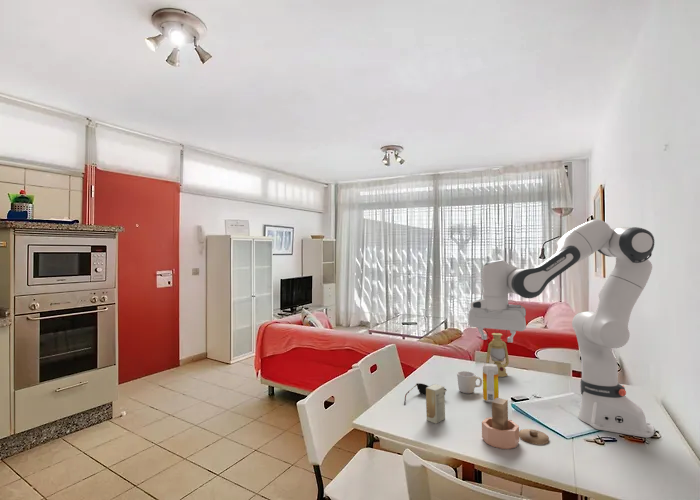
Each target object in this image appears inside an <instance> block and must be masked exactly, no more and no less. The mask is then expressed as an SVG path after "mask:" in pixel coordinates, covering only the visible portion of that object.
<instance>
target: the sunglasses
mask: <svg viewBox="0 0 700 500" xmlns="http://www.w3.org/2000/svg"><path fill="white" fill-rule="evenodd" d="M416 386H417V390H418V393H419V394H420V395H425V396H426V388H427V387H429V385H427V384H425V383H419V382H417V383H415V384H414V386H413V387H411V389H410V390H408V391H407V392H406V394H405V396H404V402H403V403H404V404H403V406H406V401H407V400H406V399H407V395H408V394H409V393H410V391H412V390H413V389H414V388H416ZM444 392H445V393H446V392H447V388H445V387H444Z"/></svg>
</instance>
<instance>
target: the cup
mask: <svg viewBox="0 0 700 500" xmlns="http://www.w3.org/2000/svg"><path fill="white" fill-rule="evenodd" d="M456 376H457V377H456V378H457V385H458V390H459V392H461V393H462V394H463V393H464V394H473V393H474V392H475V389H476V388H480V387H482V386H483V378H482V377H481V376H478V375H477V374H476V373H474V372H471V371H465V370H463V371H461V370H460V371H457V373H456ZM477 380H479V384H476V383H477V382H476V381H477Z"/></svg>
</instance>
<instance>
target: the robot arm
mask: <svg viewBox="0 0 700 500" xmlns="http://www.w3.org/2000/svg"><path fill="white" fill-rule="evenodd" d="M654 247H655V237H654V235H653V233H652V232H651V231H649V230H647V229H645V228H642V227H637V226H636V227H635V226H633V227H629V226H627V227H626V226H623V227H617V228H616V227H615V228H611V227H610V225H609V224H608V223H607V222H606V221H604V220H603V219H591V220H589V221H586V222H585V223H582V224H580V225H578V226H576V227H574V228H572V229H571V230H569V231H568V232H566V233H564V235H562V236H561V237H560V238H559V239H558V240H557V241H555V244H554V250H555V253H554V254H553V255H552V256H551V257H549V258H547V259H546V260H545V261H543V262H541V263H539V265H537V266H535V267H532V268H520V267H517V266H515V265H512V264H510V263H508V262H507V261H505V260H504V259H497V260H492V261H491V260H490V261H488V262H485V264H484V265H483V267H482V274H481V275H482V279H481V280H482V281H481V282H482V286H483V292H482V298H480V299H478V300H473V301H472V302H470V310H469V311H468V320H467V321H468V325H469V327H471V328H472V327H473V328H477V331H478V332H479V333H480V335H481V340H485V341H486V340H487V339H488V336H487V334H488V333H485V332H484V331H483V330H484V329H485V328H486V329H492V330H493V329H494V330H507V331H509V332H510V334H511V335H509V336H508V337H507V336H506V339H507V342H508V343H513V342H514V337H515V335H516V333H517V332H524V331H525V330H526V329H527V323H526V322H527V321H526V315H527V313H526V312H527V310H526V307H524V306H523V305H522V304H509V294H510V293H511V294H514V295H518V296H520V297H522V298H525V299H534V298H537V297H539V296H540V295H541V294H542V293H543V292H544V290H545V289H546V287H547V286H548V285H549V283H551V282H552V280H554V279H555V278H557V277H558V276H560V275H561V274H563V273H564V272H565V271H567V270H568V269H569V268H571V267H572V266H575V264H577V263H579V262H581V261H583V260H585V259H586V258H588V257H590V256H592V255H593V254H594V253H596V252H598V253H600V254H601V255H602V256H606V257H609V258H610V257H611V258H615V264H614V268H613V269H612V271H611V272H610V274H609V275H608V277H607V279H606V280H605V282H604V283H603V286H602V288H601V289H600V290H599V293H598V305H597V309H596V311H592V310H591V311H582V312H578V313H577V314H575V315H574V316H573V318H572V320H571V327H572V328H573V331H574V334H575V336H576V340H577V344H578V349H579V353H580V360H581V379H580V386H579V387H580V395H581V397H580V398H581V400H580V405H579V410H578V414H577V418H578V419H579V420H580V421H582V422H584V423H585V424H588V425H590V426H591V427H592V428H593V429H595V430H599V431H605V432H611V433H615V434H617V433H618V434H623V435H629V436H635V437H640V438H645V439H646V438H651V437H653V436H654V435H655V428H654V426H653V425H654V424H652V423H651V422H649V421H647V419H646V415H645V412H644V411H643V409H642V408H641V407H640V405H638V404H636V402H634V401H633V400H631V399H630V398H629V397H627V396H626V395H627V390H626V387H625V385H622V384H620V383H619V377H618V376H619V374H618V373H619V372H618V367H619V366H618V361H617V359H616V357H615V355H614V353H613V351H612V349H620V348H623V347H624V346H625V345H626V344H627V343H628V342H629V340H630V335H631V334H630V331H629V323H630V317H631V313H632V311H633V308H634V307H635V305H636V303H637V301H638V299H639V298H640V296H641V294H642V292H643V291H644V289H645V288H646V285H647V283H648V281H649V278H650V276H651V274H652V270H653V264H652V262H651V261H650V260H649V259H650V258H651V257H652V255H653V254H652V253H653V250H654Z"/></svg>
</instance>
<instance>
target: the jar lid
mask: <svg viewBox="0 0 700 500" xmlns="http://www.w3.org/2000/svg"><path fill="white" fill-rule="evenodd" d="M519 439H520V440H522V441H524V442H526V443H529V444H533V445H546V444H548V443H549V442H550V437H549V435H548V434H546V433H544V432H543V431H540V430H537V429H532V428H525V429H523V428H522V429H521V430H520V429H519Z"/></svg>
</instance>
